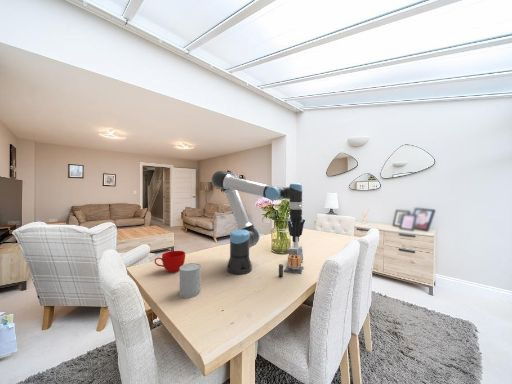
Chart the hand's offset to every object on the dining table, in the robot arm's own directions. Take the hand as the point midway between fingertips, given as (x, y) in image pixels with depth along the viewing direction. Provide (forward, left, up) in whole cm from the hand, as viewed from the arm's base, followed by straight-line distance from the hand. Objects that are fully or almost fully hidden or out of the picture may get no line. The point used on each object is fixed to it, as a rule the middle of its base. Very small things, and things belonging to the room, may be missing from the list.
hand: (295, 247), depth 129 cm
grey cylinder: (-41, -48, -14) cm, 65 cm away
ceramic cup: (-69, -31, -14) cm, 77 cm away
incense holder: (-3, +14, -14) cm, 20 cm away
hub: (-1, 0, -14) cm, 14 cm away
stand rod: (-6, -13, -14) cm, 20 cm away
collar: (-1, 0, -11) cm, 11 cm away
